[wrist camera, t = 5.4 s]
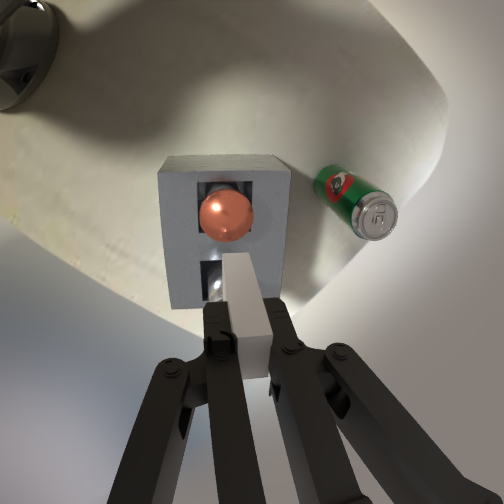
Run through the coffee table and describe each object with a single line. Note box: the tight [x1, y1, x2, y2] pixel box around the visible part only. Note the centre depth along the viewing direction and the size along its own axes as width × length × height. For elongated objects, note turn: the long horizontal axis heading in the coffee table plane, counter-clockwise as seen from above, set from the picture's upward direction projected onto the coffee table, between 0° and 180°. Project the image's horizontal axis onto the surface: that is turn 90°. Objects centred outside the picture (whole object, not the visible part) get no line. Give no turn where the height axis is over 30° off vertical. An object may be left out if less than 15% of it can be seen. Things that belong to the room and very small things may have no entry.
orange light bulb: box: [199, 181, 254, 242], centre depth 29 cm, size 5×5×8 cm
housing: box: [157, 155, 291, 309], centre depth 33 cm, size 15×12×8 cm
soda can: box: [315, 165, 398, 241], centre depth 32 cm, size 5×5×12 cm
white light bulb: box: [208, 261, 224, 302], centre depth 29 cm, size 5×5×8 cm
